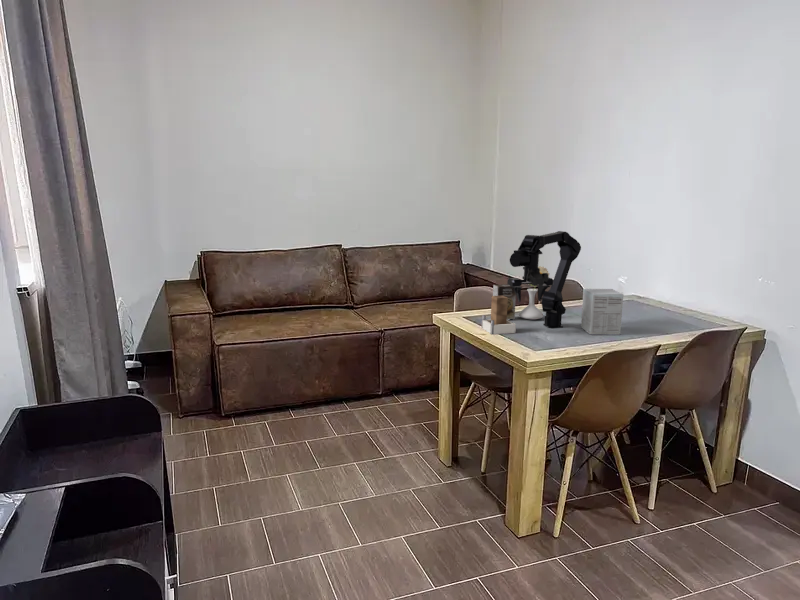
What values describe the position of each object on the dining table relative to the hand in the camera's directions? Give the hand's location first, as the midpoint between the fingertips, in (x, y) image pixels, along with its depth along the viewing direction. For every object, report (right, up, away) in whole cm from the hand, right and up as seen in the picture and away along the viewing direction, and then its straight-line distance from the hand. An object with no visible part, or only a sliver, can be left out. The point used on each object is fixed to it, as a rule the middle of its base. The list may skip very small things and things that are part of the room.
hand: (529, 301), depth 255 cm
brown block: (-13, -12, +3) cm, 18 cm away
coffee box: (-7, -8, +25) cm, 27 cm away
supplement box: (+31, -13, +4) cm, 34 cm away
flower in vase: (+7, -8, +27) cm, 29 cm away
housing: (-13, -12, +4) cm, 18 cm away
